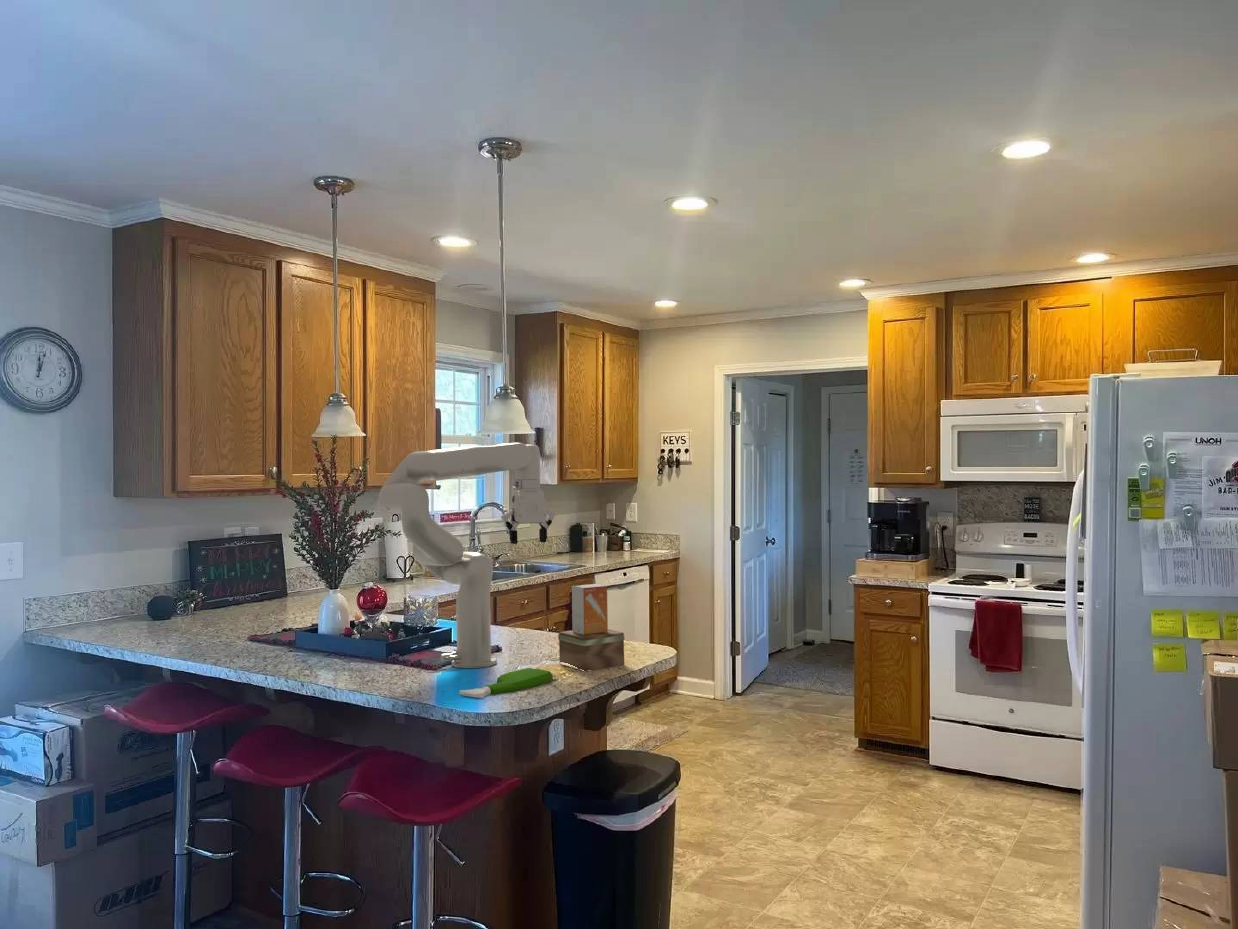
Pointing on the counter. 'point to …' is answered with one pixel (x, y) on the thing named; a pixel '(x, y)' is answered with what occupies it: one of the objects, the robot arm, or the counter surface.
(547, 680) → the green and white oblong
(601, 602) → the small box
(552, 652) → the counter surface
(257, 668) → the counter surface
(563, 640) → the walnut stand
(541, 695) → the counter surface
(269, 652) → the counter surface
